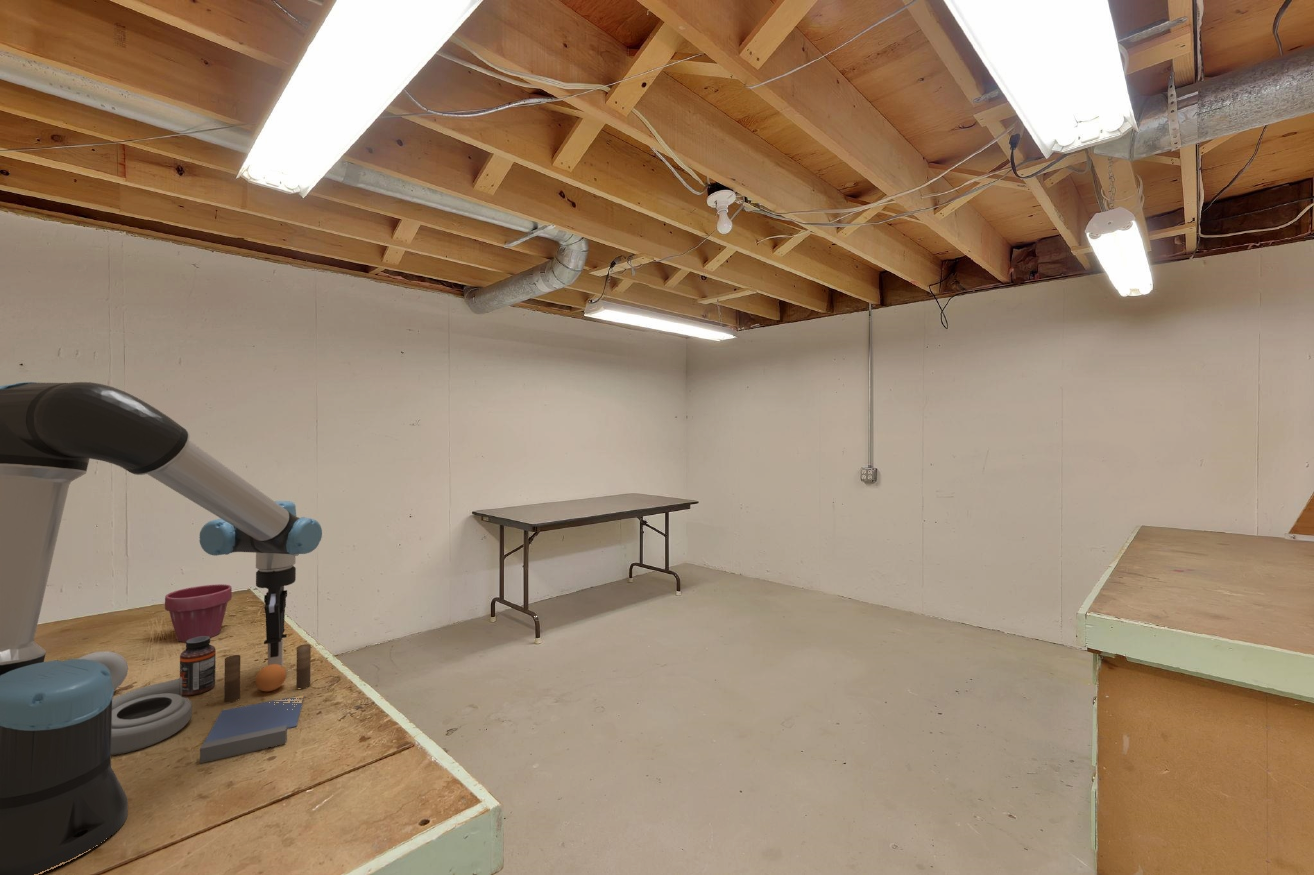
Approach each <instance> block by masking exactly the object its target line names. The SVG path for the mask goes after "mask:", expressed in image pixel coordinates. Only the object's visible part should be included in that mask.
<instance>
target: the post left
mask: <svg viewBox="0 0 1314 875" xmlns="http://www.w3.org/2000/svg"><path fill="white" fill-rule="evenodd" d="M223 683H224V686H223V687H224V688H223V690H224V692H223V693H224V694H223V695H224V698H223V700H224V701H223V702H224V703H225V702H231V703H234V702H233V701H235V702H237V701H239V700H240V699H241V655H240V654H234V655H233V654H232V655H229V656H227V657H225V658H224V682H223ZM238 699H239V700H238ZM236 700H237V701H236Z"/></svg>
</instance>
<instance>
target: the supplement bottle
mask: <svg viewBox="0 0 1314 875" xmlns="http://www.w3.org/2000/svg"><path fill="white" fill-rule="evenodd" d="M210 643H211V637H209V636H200V637H195V638H192V639H189V640H187V641H186V642H185V649H184V650H183V651H182V652H181V653H180V655H179V678H180V677H182V696H186V697H187V696H195V695H199V694H203V693H205V692H208V691H210V690H212V689H213V688H214V687H215V686H216V664H217V663H216V657H217V656H216V655H217V654H216V653H217V652H216V647H215V645H212V644H210Z"/></svg>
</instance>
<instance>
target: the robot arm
mask: <svg viewBox="0 0 1314 875" xmlns="http://www.w3.org/2000/svg"><path fill="white" fill-rule="evenodd" d="M190 438H191V437H190V432H189V431H188V430H187V429H186V428H185V427H183V426H182V425H180V424H179V423H178V422H176V421H175V420H174V419H173V418H171V417H169V416H168V415H166V414H165V413H163V412H162V411H160V410H159V409H157V408H156V407H154V406H153V405H150V404H149V403H147V402H145V401H144V400H142V399H140V398H138V397H136V396H134V395H132V394H130V393H129V392H126V391H123V390H121V389H118V388H117V387H113V386H110V385H106V384H103V383H95V382H91V381H89V382H87V381H79V382H78V381H75V382H36V381H26V382H16V383H10V384H4V385H0V875H34V874H38V873H40V872H42V871H45V870H47V869H50V868H51V867H54V866H56V865H59V864H60V863H62V862H66V861H68V860H70V859H72V858H74V857H76V856H78V855H79V854H82V853H84V852H86V851H88V850H89V849H92V848H93V847H95V846H96V845H99V844H100V843H101V842H103V841H104V840H106V838H109V837H110V836H111V835H112V836H113V835H115V834H116V833H117V832H118V831H119V830H120V829H121V828H122V826H123V825H124V823H125V822H126V821H127V818H128V813H129V812H128V811H129V809H128V808H129V807H128V806H129V801H128V796H127V794H126V792H125V790H124V788H123V787H122V785H121V783H120V781H119V778H118V777H117V775H116V773H115V771H114V770H113V767H112V755H111V731H112V699H113V698H114V694H115V690H114V689H113V686H112V679H111V673H110V670H109V669H108V668H107V667H106V666H105V665H104V664H102V663H100V662H97V661H93V660H86V659H79V658H69V659H66V660H59V659H56V660H48V661H45V658H46V653H47V651H46V649H44V648H43V647H41V646H40V645H39V644H37V642H35V636H36V633H37V632H36V631H37V627H38V623H39V618H40V614H41V610H42V606H43V602H44V596H45V592H46V588H47V584H48V579H49V576H50V575H49V574H50V570H51V566H52V562H53V557H54V554H55V549H56V544H57V540H58V536H59V532H60V527H61V523H62V519H63V513H64V510H65V505H66V501H67V497H68V492H69V487H70V485H71V483H72V482H73V481H75V480H77V479H79V478H80V477H82V476H84V475H86V474H87V470H88V467H89V463H90V459H91V460H96V461H100V462H104V463H109V464H111V465H112V464H113V465H116V466H117V467H120V468H122V469H124V470H126V471H127V472H129V473H130V474H132V475H137V476H144V475H148V476H150V477H151V478H152V479H155V480H156V481H157V482H160V483H161V484H163V485H165V486H166V487H168V488H170V489H172V490H173V491H175V492H176V493H178V494H180V495H181V496H183V497H184V498H187V499H188V500H189V501H192V502H193V503H194V504H197V505H198V506H200V508H203V509H204V510H206V511H207V512H210V513H211V514H213V515H215V516H216V517H218V519H213V520H210V521H207V522H206V523H205V524H204V525H203V526H202V527H201V530H200V531H199V540H198V541H199V544H200V547H201V549H202V550H203V551H204V553H205V554H208V555H210V556H214V557H215V556H222V555H224V556H225V555H230V554H233V553H253V554H254V553H255V569H257V571H255V586H256V587H257V588H258V589H267V591H266V594H265V595H264V599H263V600H264V604H265V605H264V607H263V608H264V613H265V637H266V640H264V642H263V645H267V666H268V665H271V664H278V665H281V666H282V667H284V638H285V639H286V638H287V637H288V636H287V635H288V634H287V633H285V616H286V606H287V597H288V590H285V586H289V585H293V584H294V583H295V582H296V578H297V577H296V575H297V574H296V572H297V571H296V569H297V568H296V567H295V565H296V557H297V556H299V555H305V554H310V553H311V552H314V551H315V550H316V549H317V547H319V544H320V542H321V541H322V538H323V529H322V526H321V524H320V522H319V521H317V520H316V519H315V518H311V517H310V518H309V517H305V516H302V517H298V516H297V509H296V507H297V506H296V504H295V502H293V501H290V500H289V501H288V500H276V501H275V500H273V499H271V498H270V497H269V496H268V495H266V494H265V493H264V492H262V491H261V490H260V489H257V488H256V487H255V486H254V485H252V484H251V483H250V482H248V481H246V479H244V478H242V477H241V476H240V475H238V474H237V473H235V471H233V470H231V469H230V468H229V467H227V466H225V465H224V464H223V463H222V462H220V461H219V460H218V459H216V458H215V457H213V456H212V455H210V454H209V453H208V452H206V451H205V450H204V449H203V448H200V447H199V446H197V444H196V443H194V442H193V441H191V440H190ZM116 831H117V832H116ZM114 833H115V834H114ZM112 836H111V837H112ZM111 837H110V838H111ZM110 838H109V839H110ZM106 841H107V840H106ZM103 843H104V842H103ZM100 845H101V844H100ZM100 845H99V846H100Z"/></svg>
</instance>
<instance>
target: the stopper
mask: <svg viewBox="0 0 1314 875" xmlns="http://www.w3.org/2000/svg"><path fill="white" fill-rule="evenodd" d="M287 740H288V729H287V725H285V726H281V727H276V728H271V729H267V730H262V731H257V732H252V733H248V734H243V735H238V736H233V737H229V738H224V739H219V740H215V741H210V742H205V741H204V742H205V743H204V742H203V743H202V744H201V746H200V748H199V764H203V763H208V762H212V761H217V760H221V759H222V760H223V759H226V758H231V757H234V756H239V755H244V754H249V753H253V752H257V751H261V749H262V750H266V749H269V748H268V747H271V748H274V746H275V747H277V746H276V745H280V746H283V745H282V744H284V745H286V744H285V743H287ZM265 748H266V749H265Z"/></svg>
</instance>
